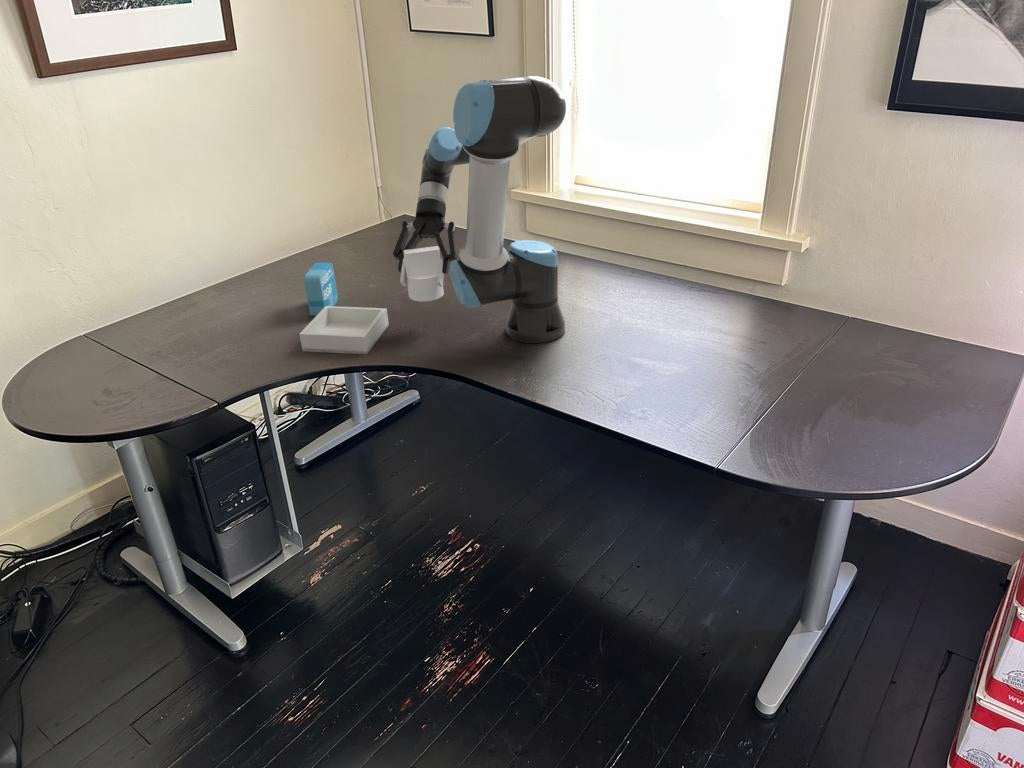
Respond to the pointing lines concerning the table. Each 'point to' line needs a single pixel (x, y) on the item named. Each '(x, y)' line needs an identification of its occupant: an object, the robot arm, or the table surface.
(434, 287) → the base with upright slab
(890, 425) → the table surface
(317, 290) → the data package
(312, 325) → the bin
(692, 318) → the table surface
